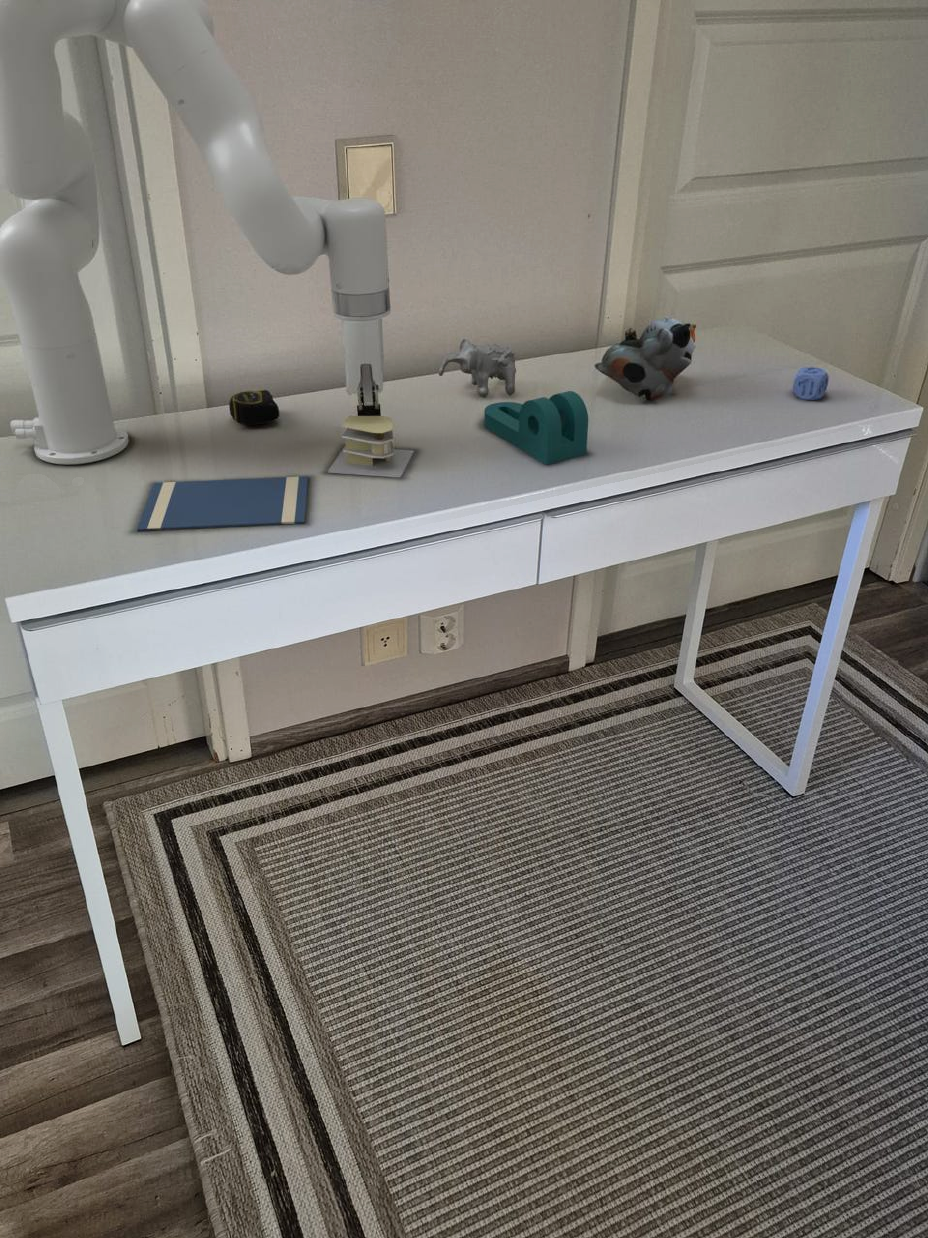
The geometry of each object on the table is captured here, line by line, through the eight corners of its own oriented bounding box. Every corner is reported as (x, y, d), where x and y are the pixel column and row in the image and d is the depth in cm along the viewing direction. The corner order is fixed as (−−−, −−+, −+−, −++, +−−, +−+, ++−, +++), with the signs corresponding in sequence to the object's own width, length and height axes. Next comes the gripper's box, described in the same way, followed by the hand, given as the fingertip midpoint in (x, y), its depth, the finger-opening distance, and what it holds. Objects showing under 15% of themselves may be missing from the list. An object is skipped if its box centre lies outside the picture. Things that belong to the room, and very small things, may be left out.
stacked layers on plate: (327, 472, 137) (324, 434, 134) (344, 446, 145) (342, 409, 142) (400, 477, 136) (398, 438, 133) (414, 450, 143) (413, 413, 140)
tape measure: (281, 426, 151) (278, 402, 149) (234, 431, 149) (231, 407, 147) (273, 410, 156) (271, 386, 154) (228, 415, 155) (225, 391, 153)
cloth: (137, 531, 123) (136, 528, 123) (154, 484, 134) (153, 482, 134) (304, 523, 125) (304, 521, 125) (308, 478, 136) (308, 475, 136)
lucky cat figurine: (613, 368, 171) (660, 293, 165) (670, 409, 168) (721, 335, 162) (580, 369, 158) (631, 287, 152) (642, 413, 155) (696, 332, 149)
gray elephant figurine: (527, 394, 162) (528, 345, 158) (461, 408, 157) (461, 359, 153) (496, 376, 168) (497, 330, 164) (432, 390, 163) (431, 342, 159)
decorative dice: (790, 396, 160) (795, 371, 158) (802, 389, 163) (806, 364, 161) (815, 402, 158) (819, 377, 156) (826, 395, 161) (830, 370, 159)
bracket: (586, 453, 142) (589, 399, 138) (546, 464, 139) (548, 409, 135) (513, 413, 155) (514, 362, 151) (475, 422, 152) (475, 370, 148)
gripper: (332, 287, 140) (343, 415, 150) (332, 319, 127) (344, 457, 137) (387, 285, 140) (394, 412, 150) (392, 316, 128) (400, 453, 138)
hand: (370, 433), depth 144 cm, fingers closed
